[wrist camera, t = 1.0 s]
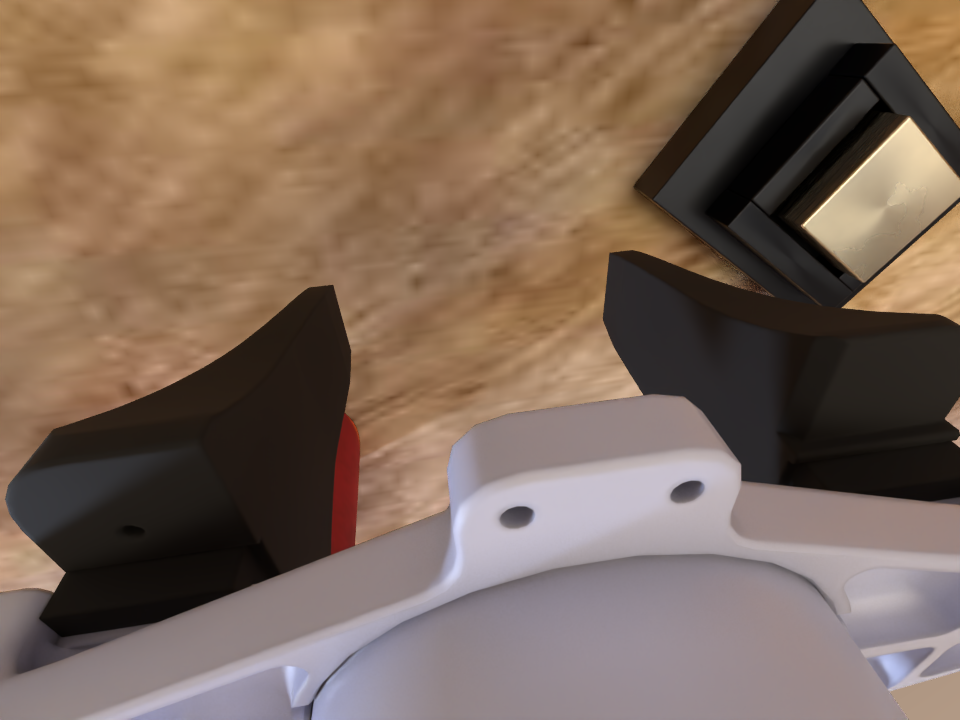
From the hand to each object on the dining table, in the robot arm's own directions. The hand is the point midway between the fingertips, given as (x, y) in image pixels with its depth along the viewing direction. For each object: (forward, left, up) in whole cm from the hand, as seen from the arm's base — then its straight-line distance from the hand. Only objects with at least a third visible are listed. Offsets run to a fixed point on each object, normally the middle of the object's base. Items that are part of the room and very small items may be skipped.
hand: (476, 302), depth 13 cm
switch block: (-7, -14, -10) cm, 19 cm away
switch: (-7, -14, -7) cm, 17 cm away
